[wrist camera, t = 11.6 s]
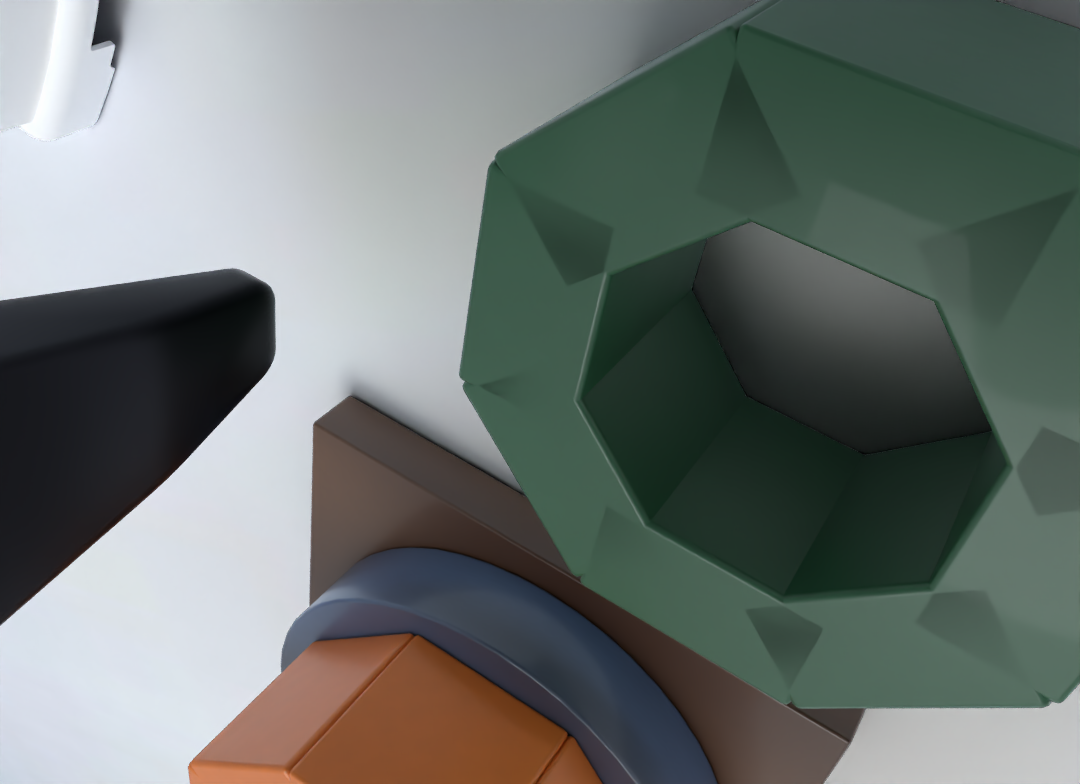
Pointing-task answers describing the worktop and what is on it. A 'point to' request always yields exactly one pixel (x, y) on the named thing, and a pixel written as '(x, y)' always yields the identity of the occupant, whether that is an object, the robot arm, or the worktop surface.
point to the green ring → (762, 433)
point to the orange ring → (388, 724)
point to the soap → (51, 67)
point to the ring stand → (530, 617)
